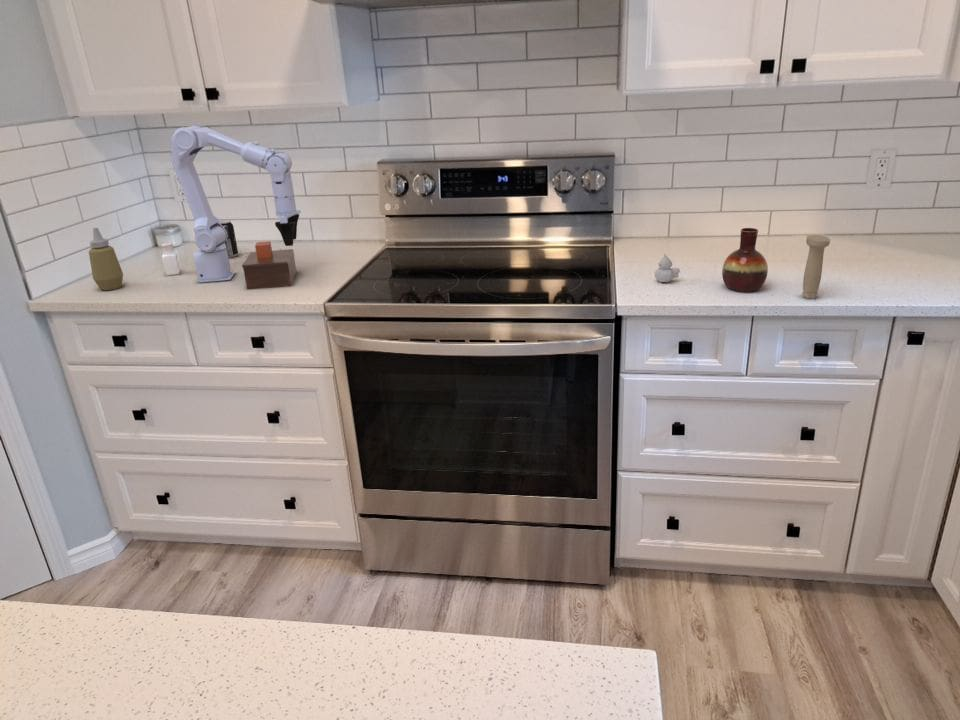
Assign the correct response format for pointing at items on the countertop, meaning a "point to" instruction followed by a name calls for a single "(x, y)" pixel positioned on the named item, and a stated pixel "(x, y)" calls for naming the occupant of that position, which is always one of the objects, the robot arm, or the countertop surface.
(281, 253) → the chest lid
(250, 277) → the chest
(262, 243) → the block
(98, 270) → the squeeze bottle
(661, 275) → the grey rounded figurine
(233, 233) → the black upright box
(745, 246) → the vase
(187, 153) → the robot arm
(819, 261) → the handle
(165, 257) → the pepper shaker
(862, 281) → the countertop surface
